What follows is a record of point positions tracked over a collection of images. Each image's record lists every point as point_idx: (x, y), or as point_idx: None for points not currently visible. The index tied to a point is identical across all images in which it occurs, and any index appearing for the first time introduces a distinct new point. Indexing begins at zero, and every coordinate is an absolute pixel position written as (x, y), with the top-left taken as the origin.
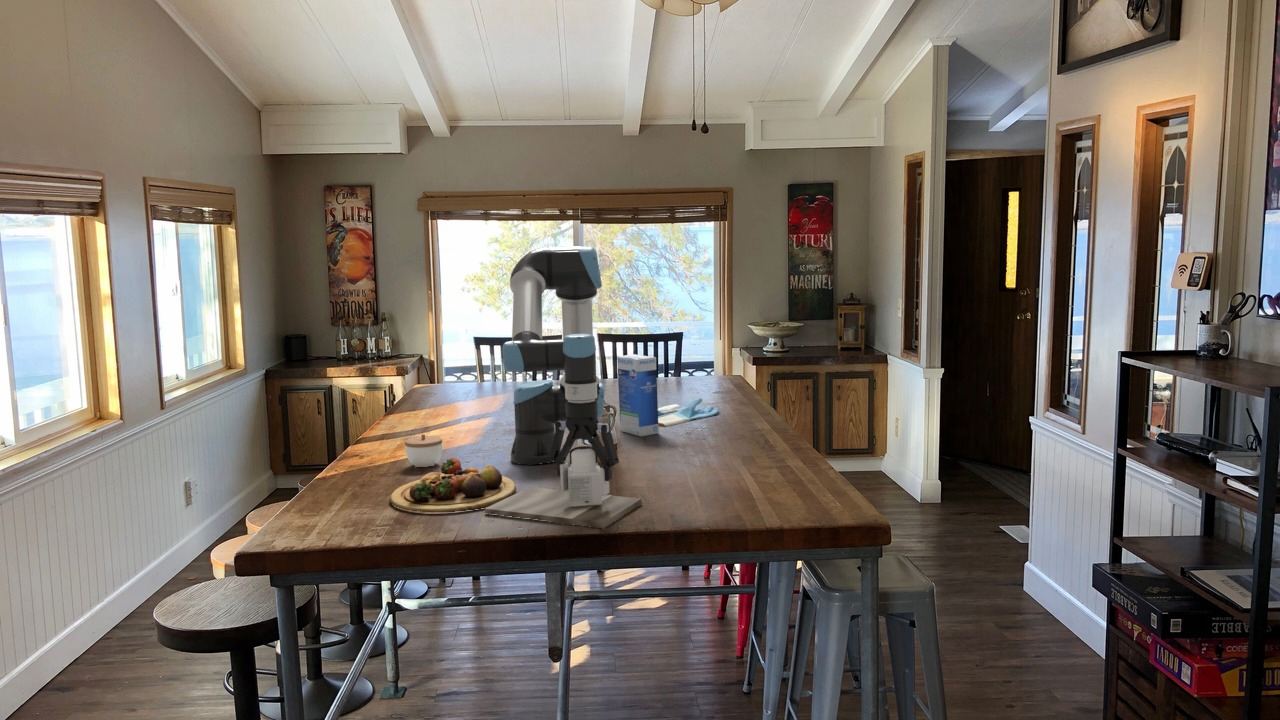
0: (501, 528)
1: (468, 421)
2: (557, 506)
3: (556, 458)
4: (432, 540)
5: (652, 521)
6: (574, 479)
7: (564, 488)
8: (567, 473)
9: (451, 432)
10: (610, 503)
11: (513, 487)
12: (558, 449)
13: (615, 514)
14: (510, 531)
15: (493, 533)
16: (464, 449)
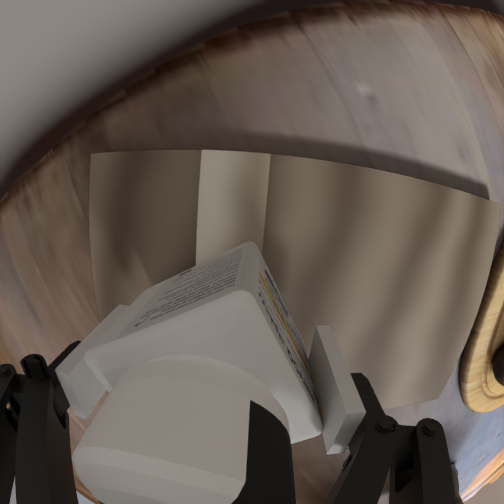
0: (411, 84)
1: (474, 489)
2: (325, 280)
3: (399, 442)
4: (471, 21)
5: (37, 261)
6: (208, 293)
7: (316, 337)
8: (320, 404)
9: (491, 470)
10: None
11: (469, 376)
12: (401, 496)
13: (91, 244)
14: (374, 60)
15: (404, 46)
16: (492, 455)
